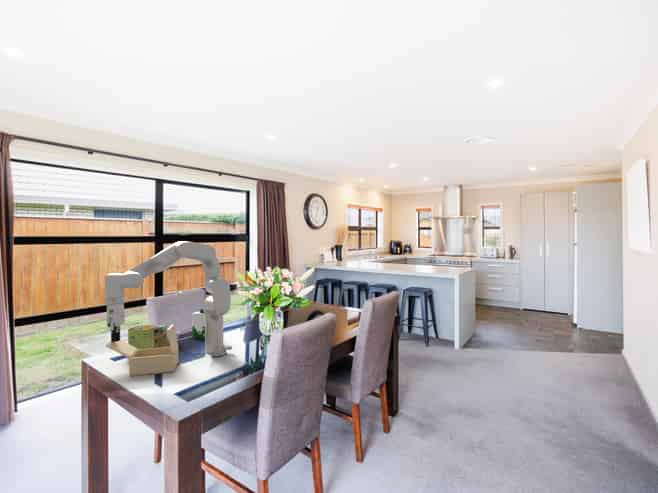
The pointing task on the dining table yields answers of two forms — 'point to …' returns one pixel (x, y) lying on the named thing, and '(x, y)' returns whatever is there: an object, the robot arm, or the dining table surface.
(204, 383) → the dining table surface
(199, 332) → the milk carton
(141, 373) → the carton
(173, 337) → the flap
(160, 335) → the protein box
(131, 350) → the flap
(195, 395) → the dining table surface
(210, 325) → the robot arm
